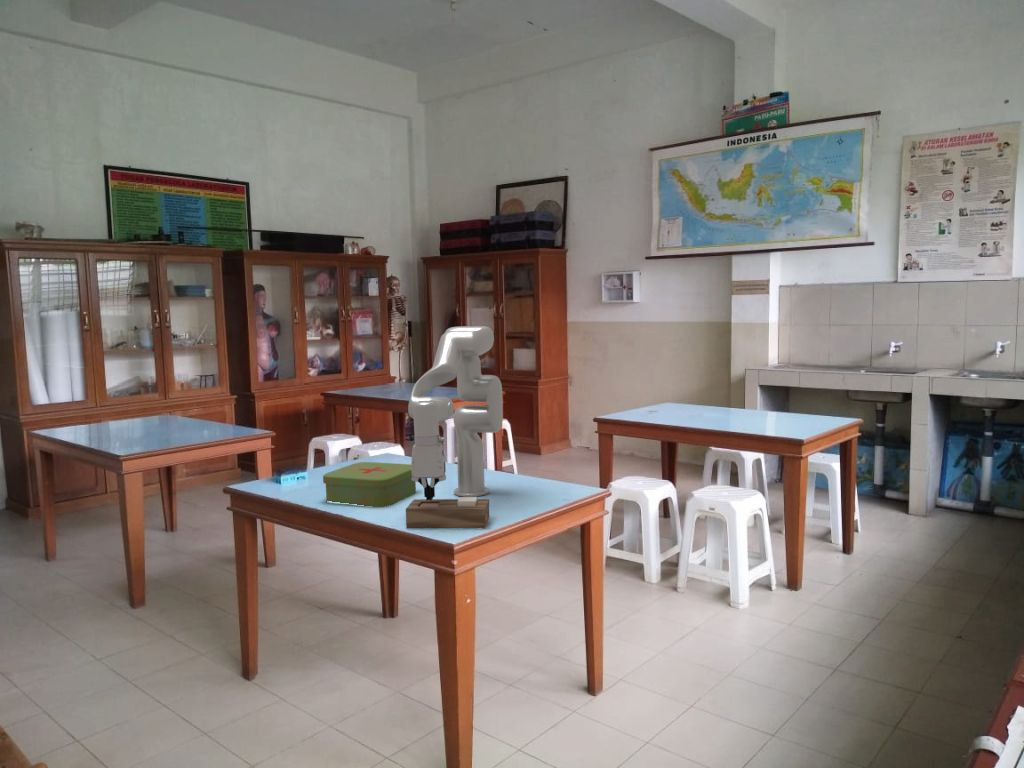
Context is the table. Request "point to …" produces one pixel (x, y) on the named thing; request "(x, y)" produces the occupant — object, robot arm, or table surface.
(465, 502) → the key ivory
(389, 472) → the first aid kit
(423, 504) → the key red
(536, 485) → the table surface
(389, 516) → the table surface
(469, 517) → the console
